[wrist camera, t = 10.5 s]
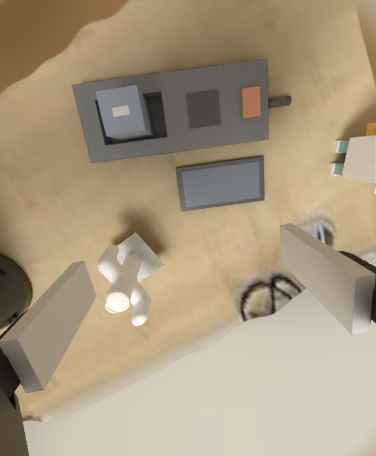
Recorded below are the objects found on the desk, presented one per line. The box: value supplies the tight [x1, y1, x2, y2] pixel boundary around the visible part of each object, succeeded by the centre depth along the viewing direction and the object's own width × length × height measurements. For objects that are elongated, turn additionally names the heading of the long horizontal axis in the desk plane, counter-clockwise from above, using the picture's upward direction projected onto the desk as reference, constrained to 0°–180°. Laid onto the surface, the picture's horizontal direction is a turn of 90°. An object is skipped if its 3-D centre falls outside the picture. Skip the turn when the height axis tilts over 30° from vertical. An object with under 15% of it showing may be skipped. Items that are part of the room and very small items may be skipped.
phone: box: [176, 157, 264, 211], centre depth 37 cm, size 14×7×1 cm, turn 97°
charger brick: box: [96, 85, 153, 140], centre depth 29 cm, size 4×4×9 cm
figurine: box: [97, 232, 164, 326], centre depth 34 cm, size 7×9×15 cm
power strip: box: [72, 59, 291, 163], centre depth 33 cm, size 30×10×4 cm, turn 97°
